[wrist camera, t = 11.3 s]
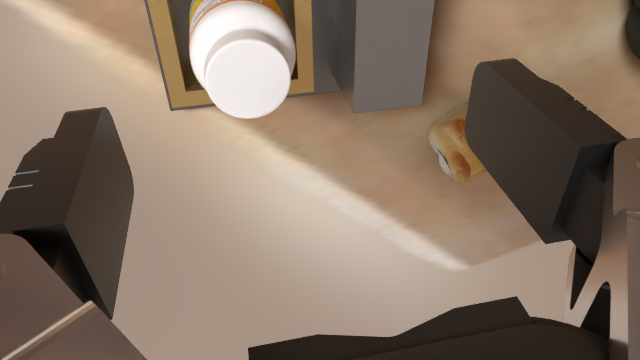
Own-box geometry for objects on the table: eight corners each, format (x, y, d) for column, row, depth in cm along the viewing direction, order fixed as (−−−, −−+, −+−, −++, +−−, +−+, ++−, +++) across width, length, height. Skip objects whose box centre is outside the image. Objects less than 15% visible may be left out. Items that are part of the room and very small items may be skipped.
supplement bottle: (279, 52, 32) (307, 126, 24) (196, 59, 31) (198, 137, 23) (276, -34, 29) (306, 20, 21) (183, -30, 28) (179, 27, 20)
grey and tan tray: (401, -108, 29) (445, -91, 24) (388, 76, 36) (419, 118, 31) (126, -94, 26) (110, -72, 21) (171, 100, 34) (167, 151, 29)
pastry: (519, 62, 38) (547, 83, 35) (538, 120, 42) (564, 143, 39) (417, 126, 40) (435, 151, 37) (445, 175, 44) (463, 202, 41)
